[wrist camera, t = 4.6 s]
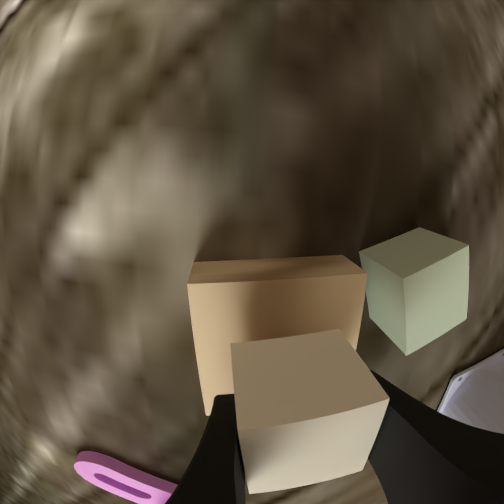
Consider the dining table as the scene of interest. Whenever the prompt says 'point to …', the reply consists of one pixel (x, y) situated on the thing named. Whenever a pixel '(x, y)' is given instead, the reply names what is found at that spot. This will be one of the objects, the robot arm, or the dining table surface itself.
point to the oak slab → (268, 307)
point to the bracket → (122, 479)
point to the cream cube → (304, 409)
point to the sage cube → (417, 286)
